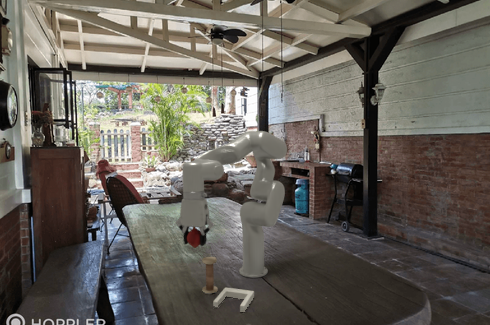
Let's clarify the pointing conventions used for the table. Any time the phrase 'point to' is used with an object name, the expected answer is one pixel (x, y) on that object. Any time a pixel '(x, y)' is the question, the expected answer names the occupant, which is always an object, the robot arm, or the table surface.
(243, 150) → the robot arm
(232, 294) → the notched board
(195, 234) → the pomegranate
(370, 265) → the table surface
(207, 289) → the spool
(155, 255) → the table surface
